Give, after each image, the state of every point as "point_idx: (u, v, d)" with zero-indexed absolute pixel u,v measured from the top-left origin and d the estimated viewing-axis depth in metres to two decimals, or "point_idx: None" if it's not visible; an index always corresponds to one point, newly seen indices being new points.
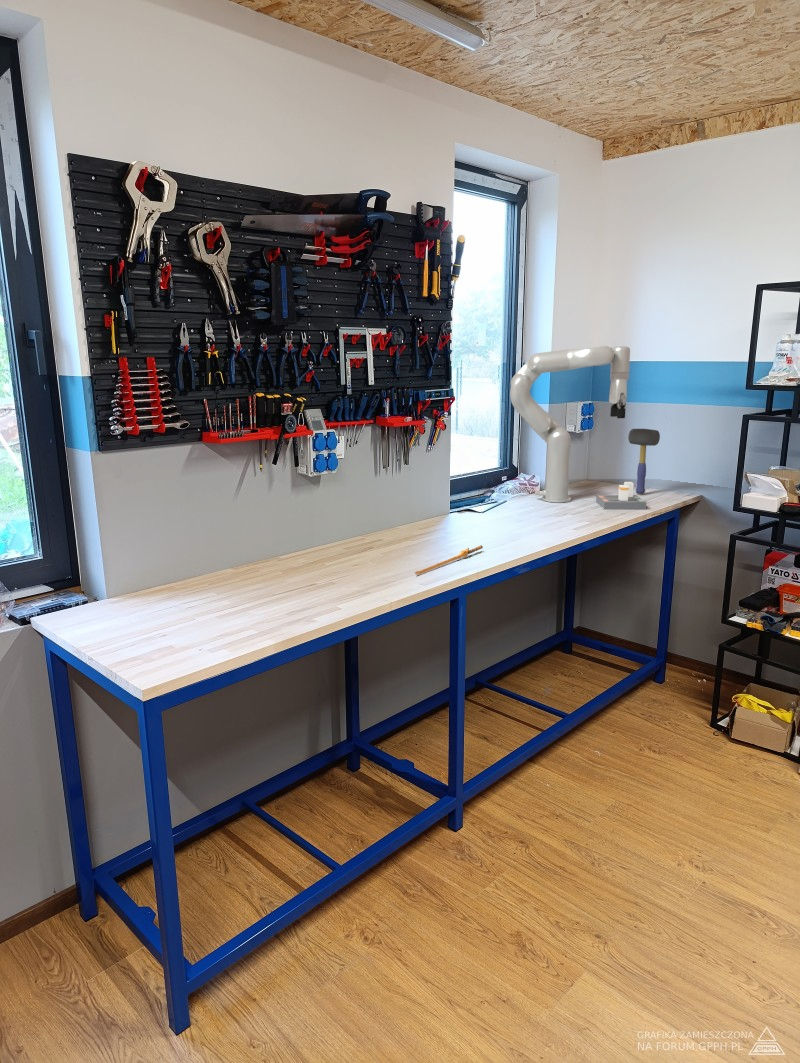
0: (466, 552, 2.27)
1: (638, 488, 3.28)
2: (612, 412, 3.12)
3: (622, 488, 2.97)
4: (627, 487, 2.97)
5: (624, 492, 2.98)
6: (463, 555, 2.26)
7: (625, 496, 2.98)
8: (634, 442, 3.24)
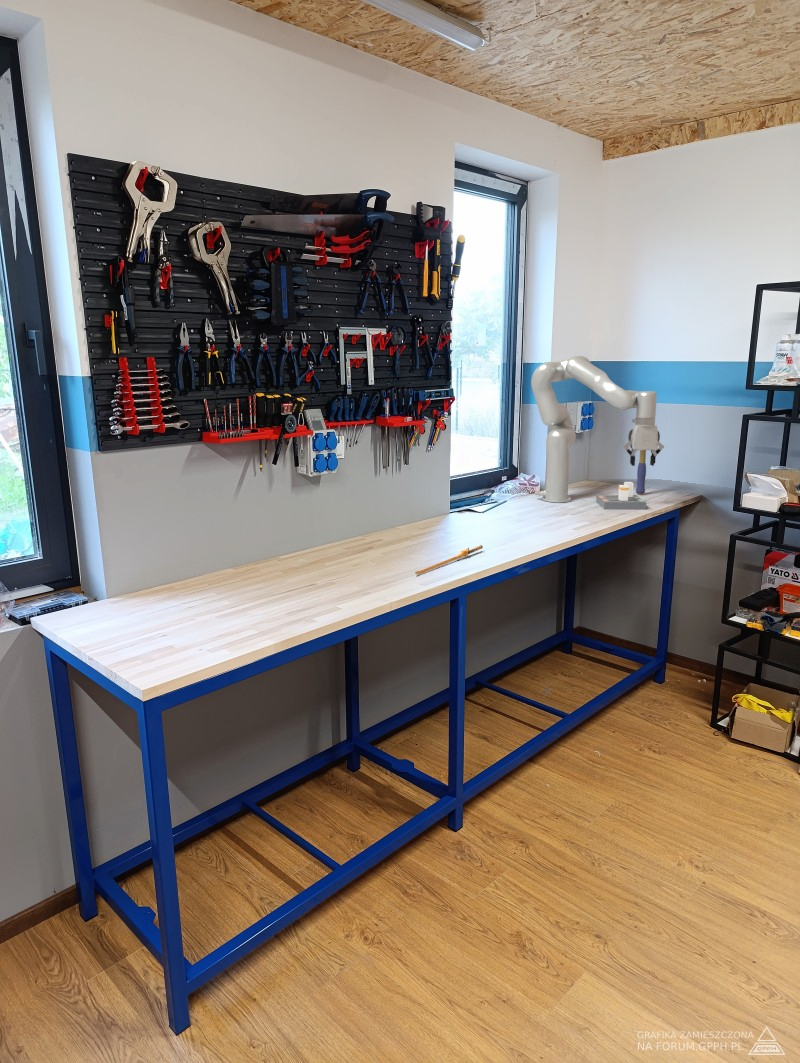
0: (466, 552, 2.27)
1: (638, 488, 3.28)
2: None
3: (622, 488, 2.97)
4: (627, 487, 2.97)
5: (624, 492, 2.98)
6: (463, 555, 2.26)
7: (625, 496, 2.98)
8: None
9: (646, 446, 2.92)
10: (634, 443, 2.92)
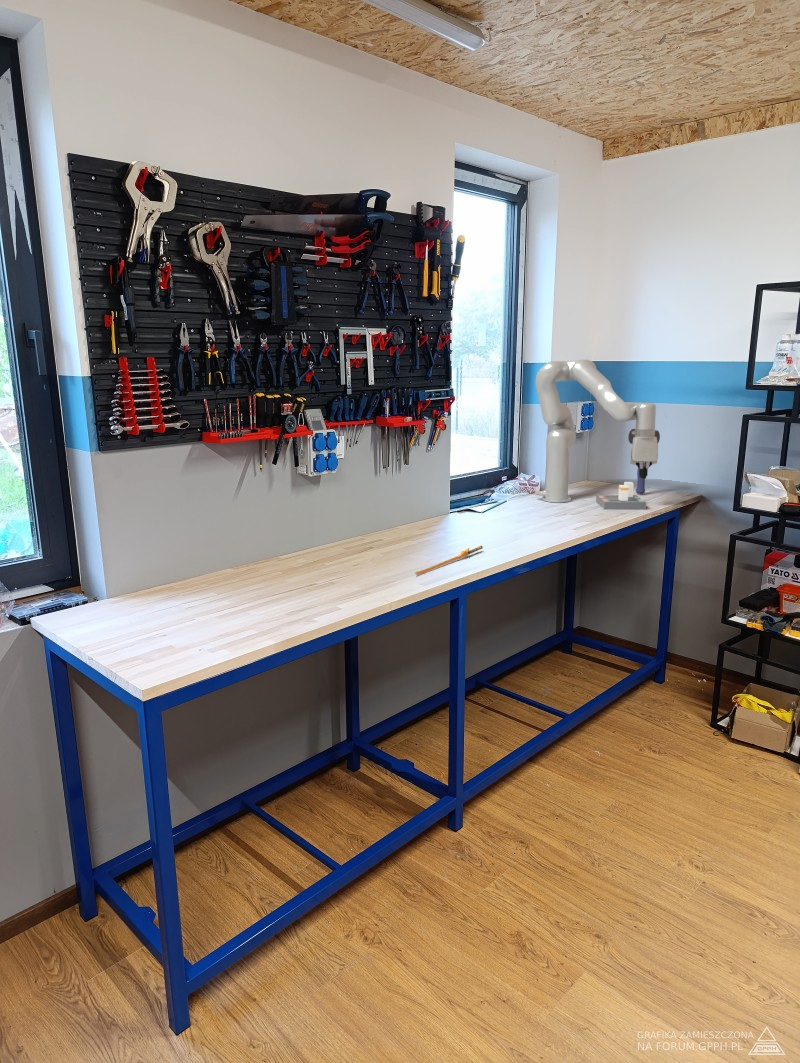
0: (466, 552, 2.27)
1: (638, 488, 3.28)
2: None
3: (622, 488, 2.97)
4: (627, 487, 2.97)
5: (624, 492, 2.98)
6: (463, 555, 2.26)
7: (625, 496, 2.98)
8: None
9: (646, 457, 2.93)
10: (634, 455, 2.93)
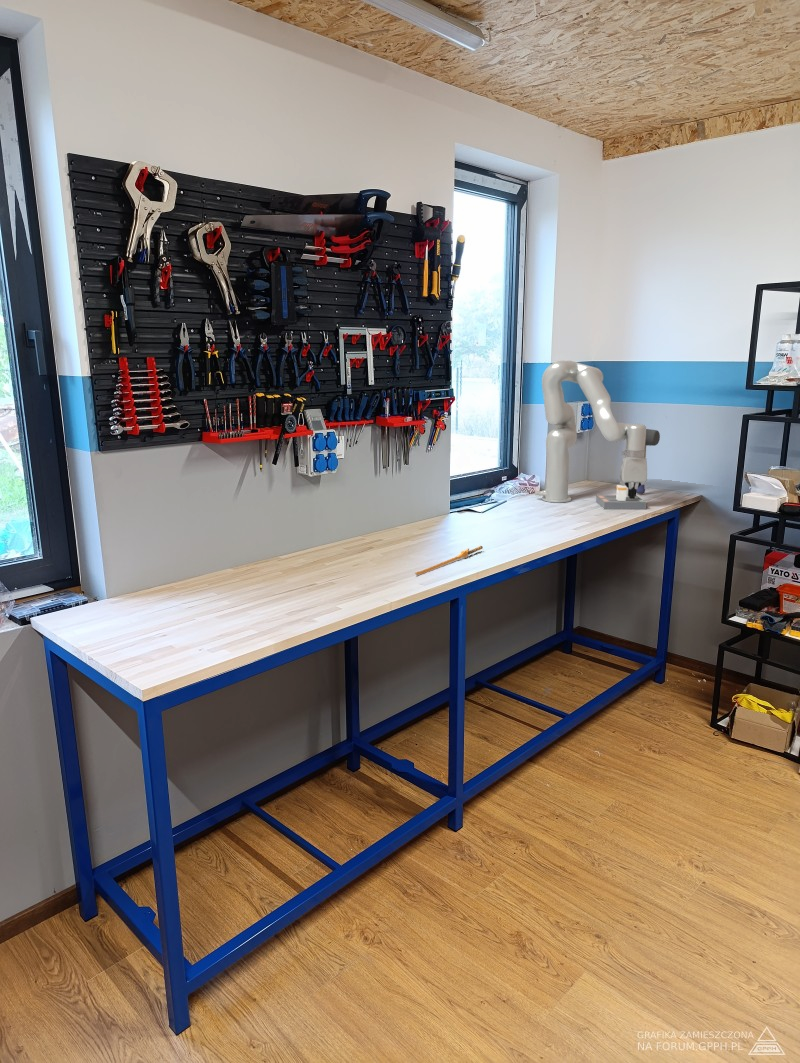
0: (466, 552, 2.27)
1: (638, 488, 3.28)
2: None
3: (620, 488, 2.98)
4: (625, 487, 2.97)
5: (621, 492, 2.98)
6: (463, 555, 2.26)
7: (623, 496, 2.98)
8: None
9: (635, 478, 2.96)
10: (624, 475, 2.96)
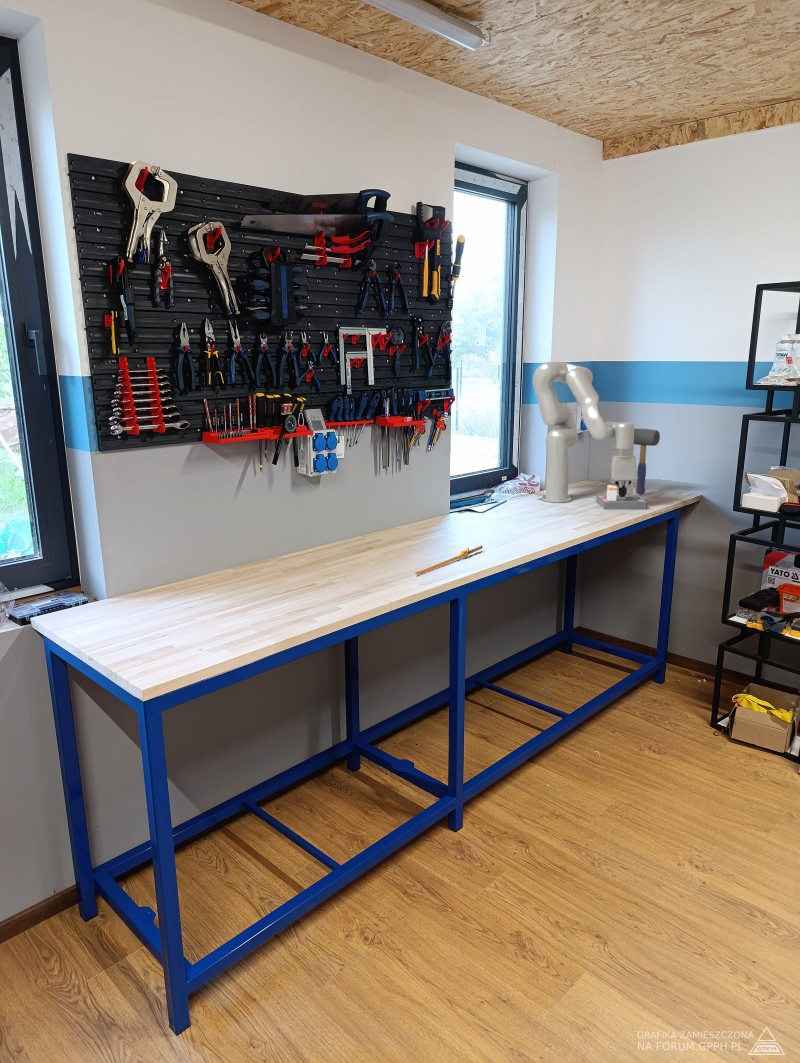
0: (466, 552, 2.27)
1: (638, 488, 3.28)
2: None
3: (610, 488, 2.98)
4: (615, 487, 2.98)
5: (612, 492, 2.98)
6: (463, 555, 2.26)
7: (613, 496, 2.99)
8: (634, 442, 3.24)
9: (625, 476, 2.95)
10: (613, 474, 2.96)
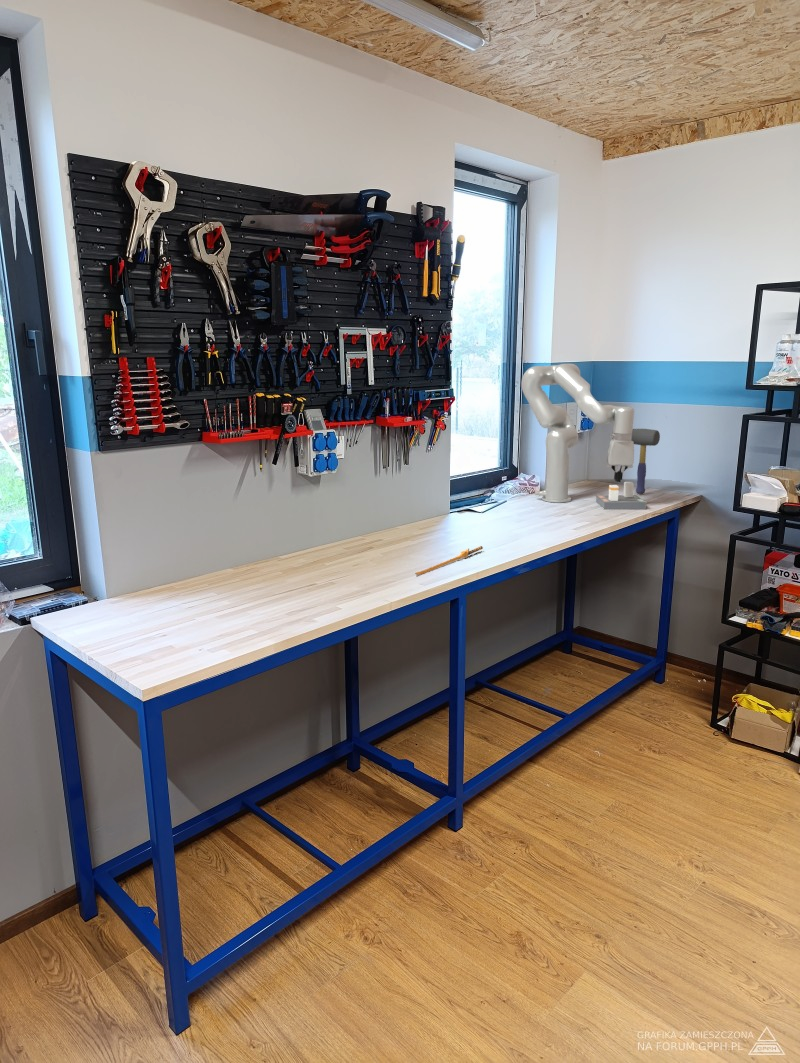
0: (466, 553, 2.27)
1: (638, 488, 3.28)
2: None
3: (612, 488, 2.98)
4: (617, 487, 2.98)
5: (614, 492, 2.98)
6: (463, 556, 2.26)
7: (615, 496, 2.98)
8: (634, 442, 3.24)
9: (622, 461, 2.95)
10: (610, 458, 2.95)
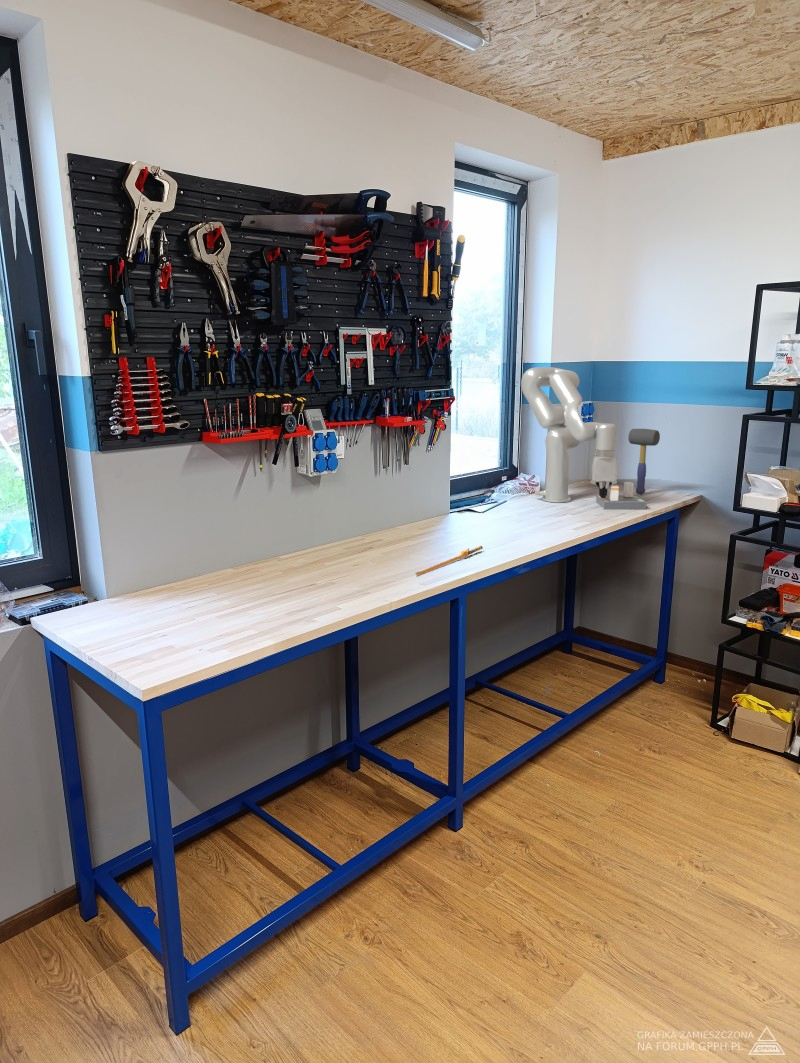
0: (466, 553, 2.27)
1: (638, 488, 3.28)
2: None
3: (612, 488, 2.98)
4: (617, 487, 2.98)
5: (614, 492, 2.98)
6: (463, 556, 2.26)
7: (615, 496, 2.98)
8: (634, 442, 3.24)
9: (606, 478, 2.96)
10: (594, 475, 2.96)
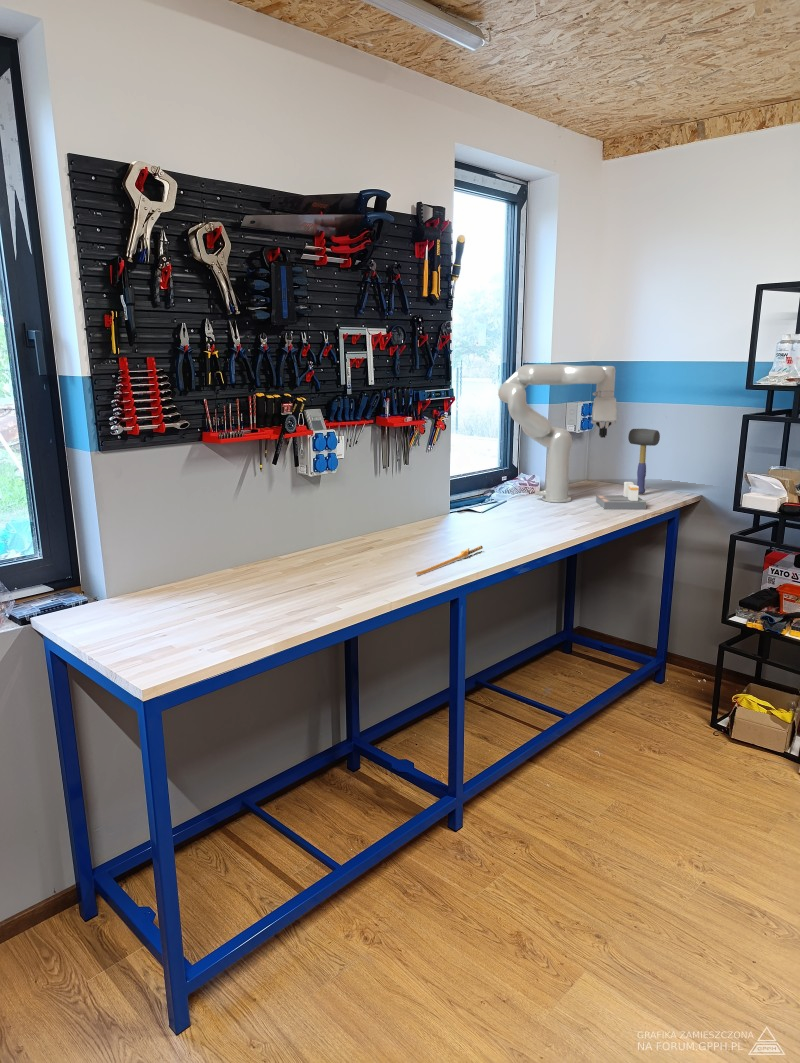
0: (466, 552, 2.27)
1: None
2: None
3: (632, 488, 2.97)
4: (637, 487, 2.97)
5: (634, 492, 2.98)
6: (463, 555, 2.26)
7: (635, 496, 2.98)
8: (634, 442, 3.24)
9: (606, 417, 3.12)
10: (594, 415, 3.12)
